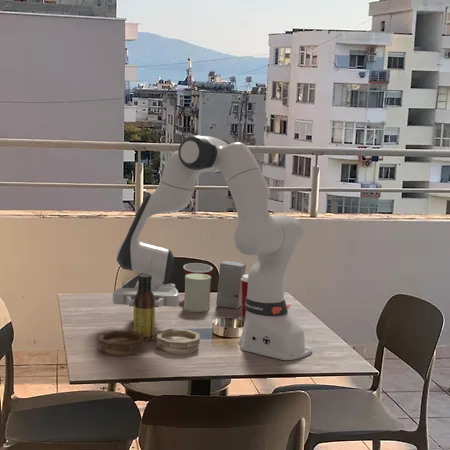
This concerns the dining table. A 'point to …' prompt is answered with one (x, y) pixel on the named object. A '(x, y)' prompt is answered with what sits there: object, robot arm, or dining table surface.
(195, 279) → the can
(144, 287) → the sauce bottle
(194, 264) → the plastic cup
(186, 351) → the birch ring seat
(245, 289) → the paper cup
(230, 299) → the skincare box
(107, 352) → the walnut ring seat
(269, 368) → the dining table surface
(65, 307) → the dining table surface
